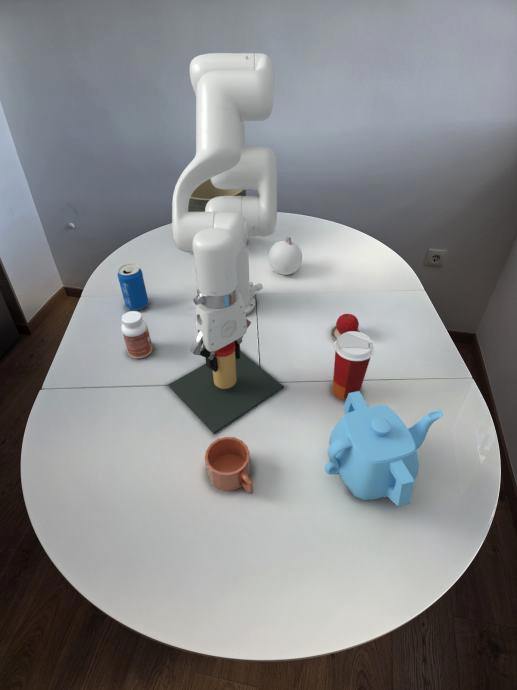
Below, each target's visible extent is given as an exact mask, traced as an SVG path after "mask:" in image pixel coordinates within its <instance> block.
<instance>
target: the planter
mask: <svg viewBox="0 0 517 690" xmlns="http://www.w3.org/2000/svg"><path fill="white" fill-rule="evenodd" d="M219 196H247V190H224V189H219V188H216V187H214V185H213V184H212V182H211V179H209V180H207V181H205V182H204V183H202V184H201V185H200V186H198V187H197V188H196V189H195V190H194V192H193V193H192V195H191V197H190V200H189V205H188V212H205V208H206V205H207V203H208V202H209V201H210V200H211V199H213V198H215V197H219ZM191 253H192V254H193V252H191Z"/></svg>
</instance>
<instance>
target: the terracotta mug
mask: <svg viewBox="0 0 517 690" xmlns="http://www.w3.org/2000/svg"><path fill="white" fill-rule="evenodd" d="M204 462H205V468H206V473H207V478H208V481H209V483H210V484H211V485H212V486H213V487H215V488H216V489H218V490H221V491H225V492H229V491H230V492H231V491H236V490H237V489H239V488H241V487H242V488H243V489H244V490H245V492H246V493H247V494H248V495H253V493H254V481H253V480H252V479H251V478H250V474H251V453H250V450H249V448H248V445H247V444H246V443H245V442H244V441H243V440H242V439H239V438H237V437H235V436H224V437H219V438H217V439H216V440H214V441H213V442H211V443H210V444H209V445H208V447H207V448H206V450H205V455H204Z"/></svg>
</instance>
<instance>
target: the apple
mask: <svg viewBox="0 0 517 690" xmlns="http://www.w3.org/2000/svg"><path fill="white" fill-rule="evenodd" d="M358 319H359V318H357V316H355V314H352V313H343V314H341V315H339V316H338V318H337V320H336V323H335V325H333V327H332V328H331V329H330V332H329V334H330V336H331V338H332V340H333V341H335V340H336V339H337V338H338V337H339V336H340V335H342V334H343V333H346V332H349V331H356V332H360V333H362V332H361V330H360V329H359V327H360V323H359V320H358Z"/></svg>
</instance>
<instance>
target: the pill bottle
mask: <svg viewBox="0 0 517 690" xmlns="http://www.w3.org/2000/svg"><path fill="white" fill-rule="evenodd" d="M121 322H122V323H121V327H120V330H121V334H122V338H123V341H124V344H125V348H126V352H127V354H128V356H129V357H130V358H133V359H144V358H146V357H148V356H149V355H150V354H151V353H152V351H153V343H152V340H151V335H150V331H149V327H148V324H147V322H146V320H145V319H143V315H142V313H141V312H140V311H138V310H130V311H127V312H125V313H123V315H122V316H121Z"/></svg>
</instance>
